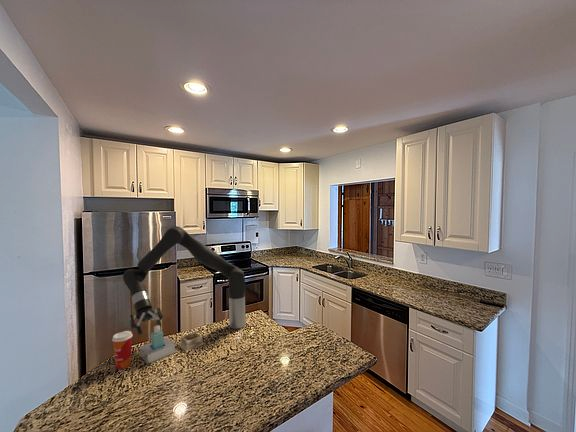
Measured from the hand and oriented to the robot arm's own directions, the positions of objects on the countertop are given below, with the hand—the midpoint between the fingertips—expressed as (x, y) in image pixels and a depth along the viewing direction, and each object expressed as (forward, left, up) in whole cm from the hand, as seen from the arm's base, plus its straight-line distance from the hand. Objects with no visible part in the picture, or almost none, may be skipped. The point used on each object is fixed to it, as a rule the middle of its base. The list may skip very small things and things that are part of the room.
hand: (150, 331), depth 126 cm
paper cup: (+14, -2, -9) cm, 17 cm away
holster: (-8, +17, -9) cm, 21 cm away
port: (+4, +7, -9) cm, 12 cm away
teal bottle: (+4, +7, -8) cm, 12 cm away
